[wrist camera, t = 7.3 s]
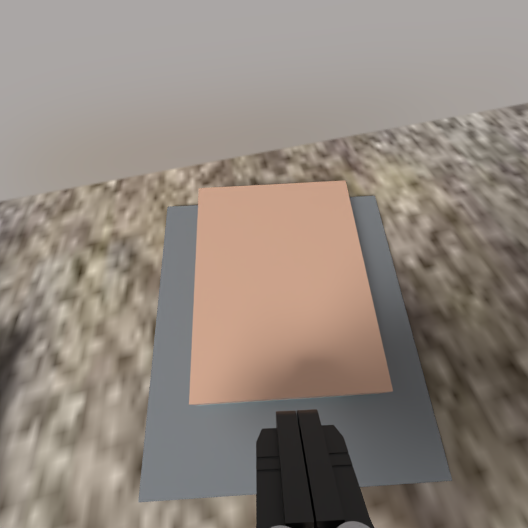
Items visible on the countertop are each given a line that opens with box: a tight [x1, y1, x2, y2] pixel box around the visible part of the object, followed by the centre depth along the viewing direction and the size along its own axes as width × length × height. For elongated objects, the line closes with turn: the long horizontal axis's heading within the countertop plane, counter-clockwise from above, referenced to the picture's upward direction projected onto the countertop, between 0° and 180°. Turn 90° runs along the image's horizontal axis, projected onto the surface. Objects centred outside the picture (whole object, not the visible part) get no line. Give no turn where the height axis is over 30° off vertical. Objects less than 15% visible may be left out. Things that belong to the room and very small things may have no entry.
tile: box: [189, 181, 393, 406], centre depth 17 cm, size 9×2×12 cm
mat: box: [139, 196, 452, 502], centre depth 17 cm, size 14×16×1 cm
